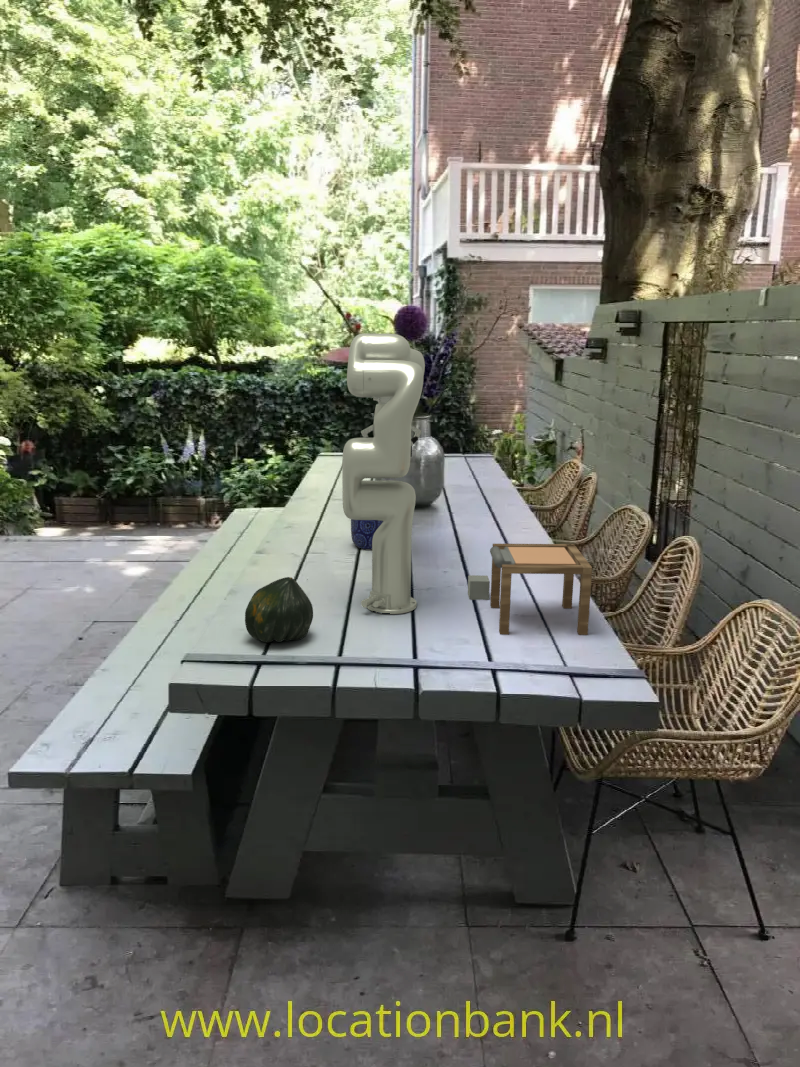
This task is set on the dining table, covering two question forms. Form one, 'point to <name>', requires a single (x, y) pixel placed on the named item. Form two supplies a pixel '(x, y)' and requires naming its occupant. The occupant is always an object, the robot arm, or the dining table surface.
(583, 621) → the frame
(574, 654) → the dining table surface
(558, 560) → the trapdoor
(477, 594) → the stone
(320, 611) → the dining table surface
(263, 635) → the squash
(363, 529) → the planter
